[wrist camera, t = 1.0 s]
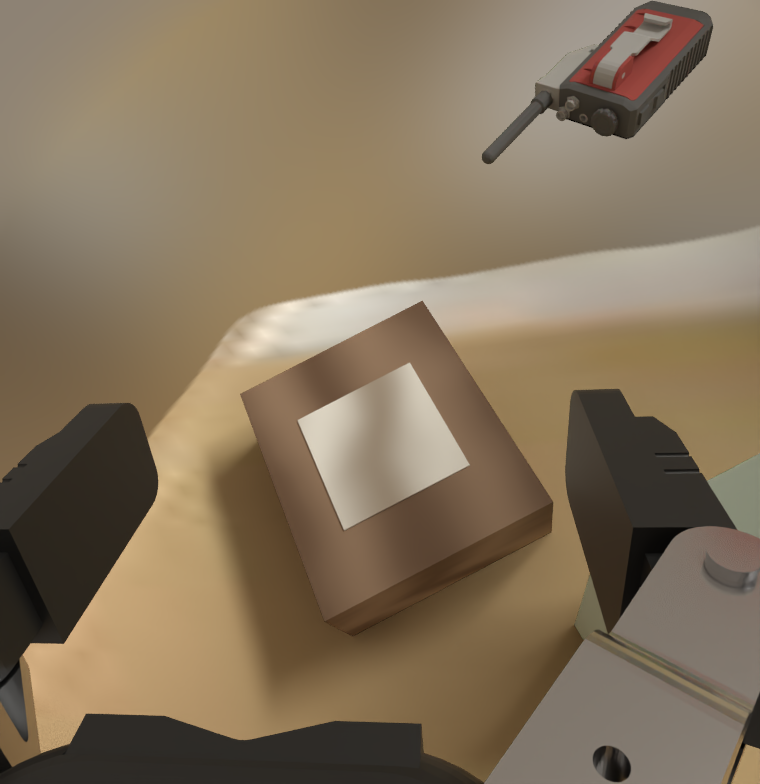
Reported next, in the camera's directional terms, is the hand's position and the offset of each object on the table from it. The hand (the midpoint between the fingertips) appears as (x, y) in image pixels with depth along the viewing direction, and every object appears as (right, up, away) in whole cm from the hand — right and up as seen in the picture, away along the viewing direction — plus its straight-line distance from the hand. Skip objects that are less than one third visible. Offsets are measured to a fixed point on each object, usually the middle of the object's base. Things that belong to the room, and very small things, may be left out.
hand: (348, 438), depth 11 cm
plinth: (+2, -4, +25) cm, 25 cm away
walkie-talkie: (+18, +23, +37) cm, 47 cm away
